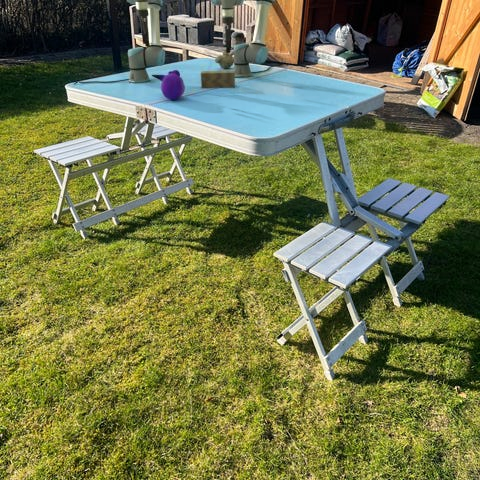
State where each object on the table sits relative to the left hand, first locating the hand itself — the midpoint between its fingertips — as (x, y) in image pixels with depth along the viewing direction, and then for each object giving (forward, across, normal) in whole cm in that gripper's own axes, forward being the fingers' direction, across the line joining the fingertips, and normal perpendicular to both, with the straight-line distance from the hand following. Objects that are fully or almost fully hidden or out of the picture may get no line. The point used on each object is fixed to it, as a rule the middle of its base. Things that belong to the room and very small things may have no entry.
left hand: (146, 45), depth 298 cm
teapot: (+29, +59, -72) cm, 97 cm away
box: (+29, -8, -46) cm, 55 cm away
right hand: (+6, -11, -54) cm, 55 cm away
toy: (+29, -30, -8) cm, 42 cm away
